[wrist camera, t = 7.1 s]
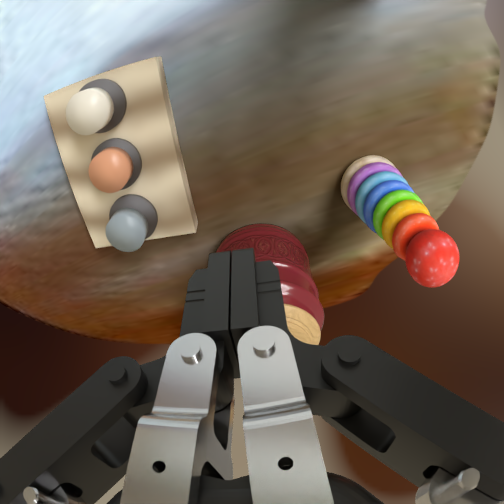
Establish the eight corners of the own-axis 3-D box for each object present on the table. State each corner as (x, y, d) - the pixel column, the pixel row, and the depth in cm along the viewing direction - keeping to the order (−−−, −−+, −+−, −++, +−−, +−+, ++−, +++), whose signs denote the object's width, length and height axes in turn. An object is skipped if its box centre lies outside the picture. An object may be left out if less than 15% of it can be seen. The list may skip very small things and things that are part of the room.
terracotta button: (90, 152, 31) (83, 158, 30) (127, 142, 31) (121, 147, 29) (102, 189, 34) (96, 196, 32) (138, 181, 34) (133, 188, 32)
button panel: (53, 92, 30) (40, 97, 27) (161, 56, 29) (153, 57, 26) (101, 238, 42) (93, 251, 39) (198, 222, 41) (195, 236, 38)
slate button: (105, 211, 34) (99, 220, 33) (141, 204, 34) (136, 213, 32) (118, 244, 37) (113, 254, 35) (153, 239, 37) (149, 249, 35)
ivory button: (70, 95, 26) (60, 98, 25) (108, 81, 26) (100, 84, 24) (80, 135, 29) (72, 140, 27) (118, 123, 29) (111, 128, 27)
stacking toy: (360, 221, 42) (417, 325, 26) (326, 179, 38) (382, 278, 23) (406, 186, 39) (485, 275, 24) (376, 140, 35) (464, 217, 20)
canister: (325, 247, 44) (361, 349, 30) (273, 307, 50) (285, 408, 36) (242, 203, 40) (246, 306, 25) (196, 275, 46) (183, 381, 32)
